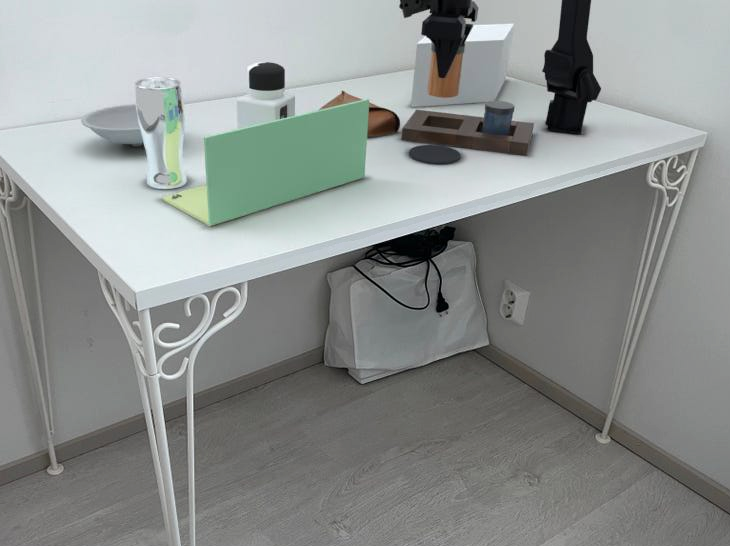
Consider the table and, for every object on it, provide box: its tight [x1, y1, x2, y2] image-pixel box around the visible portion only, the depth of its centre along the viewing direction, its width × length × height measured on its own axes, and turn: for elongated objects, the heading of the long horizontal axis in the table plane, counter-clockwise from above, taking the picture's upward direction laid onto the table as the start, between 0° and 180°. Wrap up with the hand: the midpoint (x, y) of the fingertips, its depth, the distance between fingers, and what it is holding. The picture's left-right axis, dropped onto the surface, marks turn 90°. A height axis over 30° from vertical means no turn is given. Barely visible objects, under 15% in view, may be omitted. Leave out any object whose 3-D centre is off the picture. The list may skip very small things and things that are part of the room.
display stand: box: [161, 98, 370, 227], centre depth 112 cm, size 30×12×12 cm, turn 132°
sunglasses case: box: [316, 90, 401, 138], centre depth 143 cm, size 18×7×7 cm, turn 36°
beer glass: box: [134, 76, 188, 190], centre depth 112 cm, size 7×7×15 cm
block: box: [410, 23, 515, 108], centre depth 161 cm, size 18×35×12 cm, turn 135°
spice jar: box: [482, 100, 516, 136], centre depth 136 cm, size 5×5×6 cm
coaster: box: [408, 144, 462, 165], centre depth 130 cm, size 9×9×1 cm
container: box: [236, 61, 296, 129], centre depth 131 cm, size 8×8×13 cm
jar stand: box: [400, 109, 535, 156], centre depth 138 cm, size 23×13×2 cm, turn 72°
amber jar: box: [426, 42, 465, 98], centre depth 125 cm, size 6×6×8 cm
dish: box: [80, 103, 143, 147], centre depth 129 cm, size 18×14×5 cm
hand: (444, 73), depth 125 cm, fingers closed on amber jar, 5 cm apart
